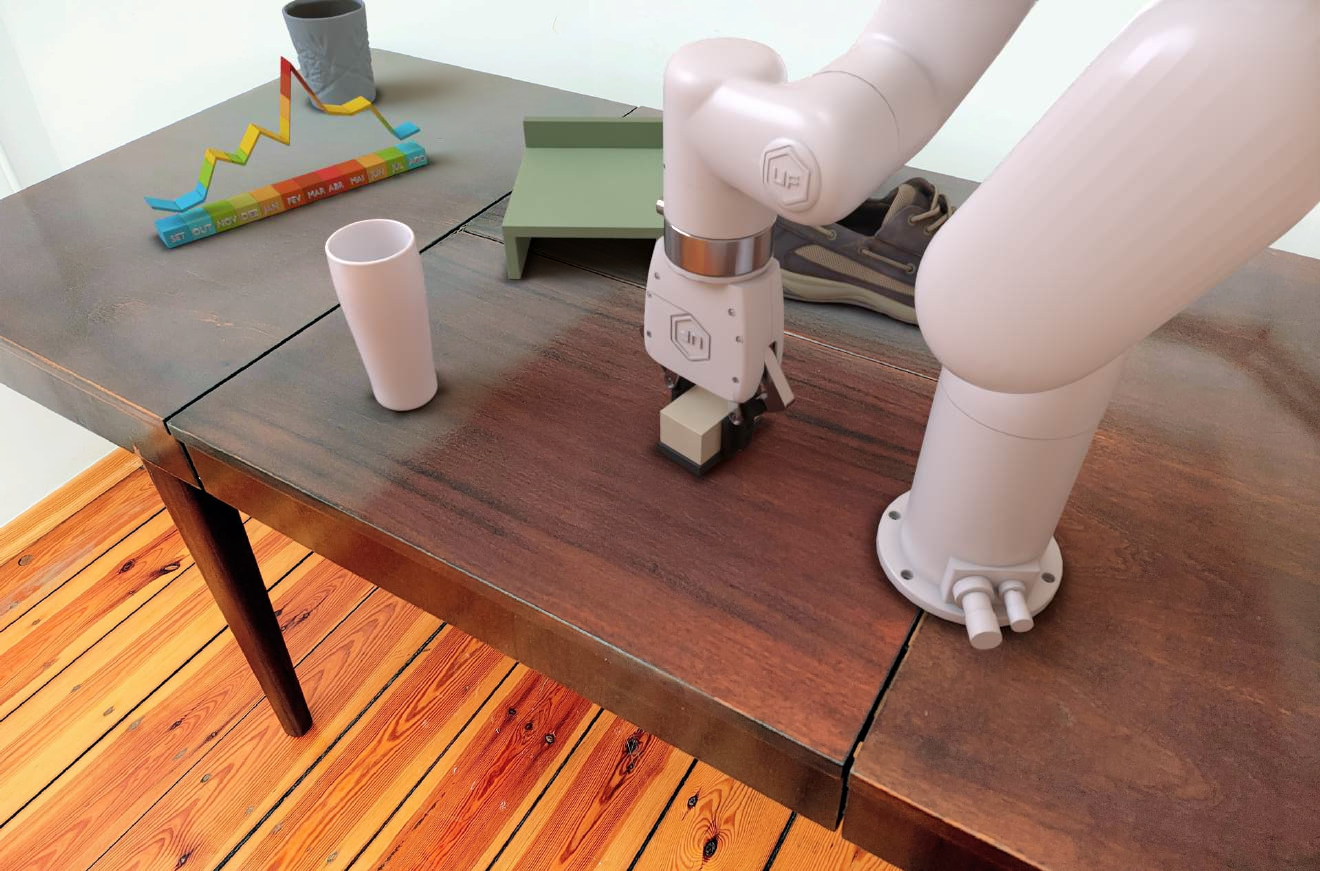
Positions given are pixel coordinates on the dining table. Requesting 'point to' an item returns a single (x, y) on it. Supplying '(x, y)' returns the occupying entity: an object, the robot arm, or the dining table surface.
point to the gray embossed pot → (332, 48)
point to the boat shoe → (864, 251)
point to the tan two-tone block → (694, 429)
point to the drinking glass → (386, 308)
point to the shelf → (585, 182)
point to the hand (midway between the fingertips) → (710, 433)
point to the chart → (288, 191)
